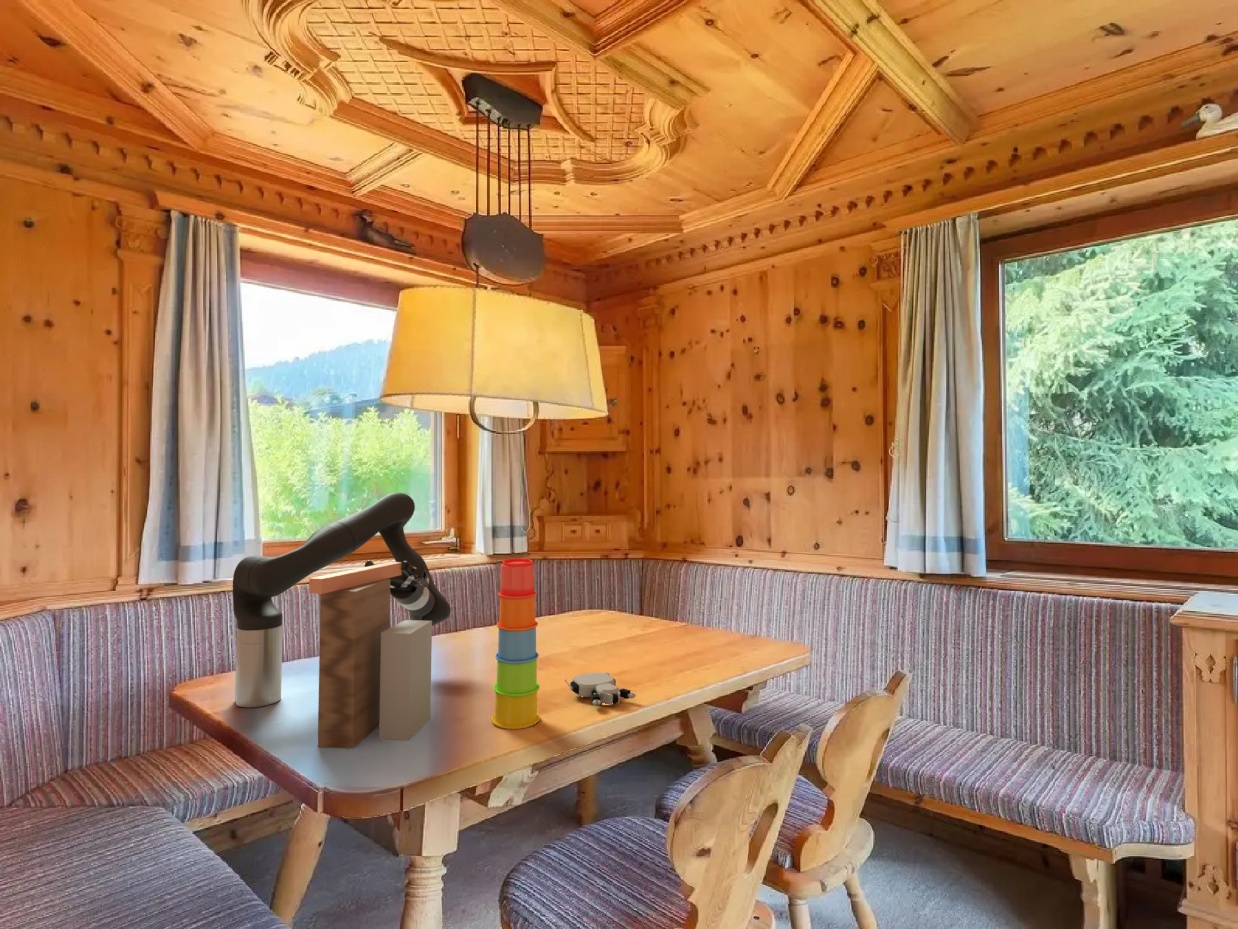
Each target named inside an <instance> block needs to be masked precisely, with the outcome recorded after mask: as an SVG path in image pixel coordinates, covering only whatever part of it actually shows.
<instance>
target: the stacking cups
mask: <svg viewBox="0 0 1238 929" xmlns="http://www.w3.org/2000/svg"><path fill="white" fill-rule="evenodd" d="M497 593H498V594H497V595H498V596H499V617H498V618H499V621H498V622H497V623H496V627H497V628H498V643H497V644H498V645H497V653H496V654H495V659H496V661H497V662H496V663H497V664H496V683H495V684H494V685H493V688H492V689H493V692H494V693H495V706H494V708H495V710H494V711H495V712H494V714H493V715H492V717H491V723H492V724H493V725H494V726H496V727H498V728H501V729H504V728H505V730H522V729H521V728H523V729H528V728H530V727H529V726H531V727H533V726H535V725H536V723H537V722H538V721H539V722H540V720H541V716H540V714H539V713H538V708H537V707H538V692H539V690H540V687H541V686H540V684H539V683H538V682H537V679H538V678H537V673H538V672H537V670H538V669H537V668H538V663H537V662H538V661H537V659H538V658H539V655H540V654H539V652H537V627H538V624H539V623H538V621H536V595H537V591H536V590H535V564H534V562H533V560H532V559H530V558H520V557H519V558H518V557H517V558H508V559H507V558H506V559H504V560H502V563H501V564H500V591H499V592H497ZM539 722H538V723H539ZM538 723H537V724H538ZM534 724H535V725H534ZM532 725H533V726H532ZM527 727H528V728H527Z"/></svg>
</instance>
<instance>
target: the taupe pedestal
mask: <svg viewBox="0 0 1238 929" xmlns="http://www.w3.org/2000/svg"><path fill="white" fill-rule="evenodd" d="M432 632H433V626H432V621H420V620H410V619H405V620H402V621H400V622H399V623H397V624H395V625H393V626H391V627H390V628H389V629H387V630H385V631H383V632H382V633H381V665H380V722H379V727H378V728H379V731H378V734H379V735H378V736H379V737H378V739H379V740H394V741H395V740H396V741H397V740H398V741H409V740H411V738H412V737H413V736H415V735H416V733H418V731H420V729H422V727H423V726H424V725H425V724H427V723H428V722H429V721H430V719H431V708H432V706H431V704H432V701H431V700H432V699H431V698H432V687H431V686H432V646H433V645H432V644H433V643H432V639H433V633H432Z"/></svg>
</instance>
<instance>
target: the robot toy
mask: <svg viewBox="0 0 1238 929" xmlns="http://www.w3.org/2000/svg"><path fill="white" fill-rule="evenodd" d="M563 681H564V682H565V683H566V684H567V686H568V687H569V690H571V691H572V692H573V693H574V694H575V695H577V696H578V695H579V696H578V697H580V696H583V697H586V698H590V697H591V702H592V705H595V706H599V705H600V706H601V703H605V704H612V703H613V704H612V705H616V704H620V703H621V702H620V701H621V700H620V699H621V698H624V699H625V700H629V699H634V698H635V697H636V696H637V695H636V693H634V692H631V690H630V689H627V688H619V687H618V686H616V683H617V681H616V679H615V678H614V677H613V676H612V675H611V674H610V672H609V671H606V673H605V672H587V673H584V674H583V673H582V674H579V675H576V676H575V677H573V678H572V679H571V681H570V683H569V682H568V681H567V679H566V678H564V679H563ZM619 702H620V703H619Z"/></svg>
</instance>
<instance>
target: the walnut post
mask: <svg viewBox="0 0 1238 929" xmlns="http://www.w3.org/2000/svg"><path fill="white" fill-rule="evenodd" d="M319 604H320V608H319V651H318V652H319V653H318V654H319V655H318V656H319V657H318V659H319V660H318V663H319V664H318V703H317V704H318V708H317V710H318V712H317V713H318V714H317V717H318V718H317V747H318V748H335V749H337V748H339V749H354V748H355V747H357V746H358V745H359V744H360V743H361V742H362V741H363V740H364V739H365V738H367V737H368V736H369V735H370V734H372V733H373V732H374V731H375V730H376V729H378V728H379V722H380V665H381V633H382V632H383V631H385V630H387V629H389V628H391V627H390V626H391V624H390V623H391V594H390V579H382V580H378V581H374V582H370V583H366V584H361V585H357V586H353V587H349V588H345V589H341V590H336V591H332V592H328V593H324V594H320V603H319Z"/></svg>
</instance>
